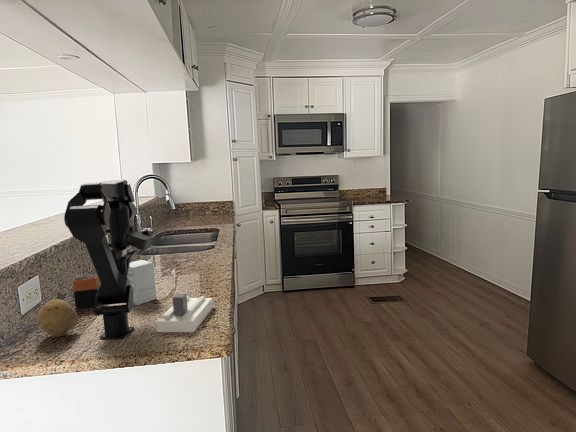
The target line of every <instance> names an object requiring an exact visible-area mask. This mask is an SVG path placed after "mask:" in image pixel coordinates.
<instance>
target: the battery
mask: <svg viewBox="0 0 576 432" xmlns="http://www.w3.org/2000/svg"><path fill="white" fill-rule="evenodd" d="M72 287H73V296H74V305H75V309H82V308H90V307H95V299H96V293H97V290H98V287H99V278H98V276H97V274H95V275H94V274H88V275H87V276H84V275H83V274H78V275H76V276H75V278H74V279H73V280H72Z"/></svg>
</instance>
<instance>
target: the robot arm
mask: <svg viewBox="0 0 576 432" xmlns="http://www.w3.org/2000/svg"><path fill="white" fill-rule="evenodd" d="M93 200H102V202H103V205H102V204H90V205H85V204H86V203H87V201H93ZM135 200H136V199H135V196H134V193H133V190H132V186H131V183H128V180H127V179H117V180H114V179H113V180H103V181H102V182H100V181H99V182H98V181H97V182H84V183H82V184H80V187H79V191H78V192H77V193H76V194H75V195H73V197H71V198H70V200H68V202H67V205H66V209H65V212H64V224H65V226H66V227H67V229H68V230H69V233H70V234H71V235H72V237H73V238H74V239H77V240H78V241H79V242H82V243H83V244H84V246H85V248H86V251H87V254H88V256H89V258H90V261H91V264H92V266H93V268H94V270H95V273H96V275H97V276H98V284H99V287H98V290H97V293H96V299H95V306H93V307H94V308H93V309H94V310H93V312H94V314H95V317H96V316H102V320H103V321H102V322H103V326H104V327H103V328H104V332H103V333H102V334H101V335H100V336H99V339H125V337H127V336H128V335H129V334H130V333H131V332H132V331H134V330H135V326H129V325H130V324H129V315H128V314H129V313H130V312H131V311H133V308H134V304H133V287H132V285H130V281H129V279H128V276H127V275H128V270H129V266H130V263H131V262H132V261H131V260H132V257H134V256H135V254H137V252H138V250H141V251H145V250H146V249H149V248H150V245H151V242H153V241H154V239H153V235H152V231H151V230H148V229H144V230H143V231H142V232H141V231H139V232H138V231H135V226H134V225H131V222H130V221H131V219H134V217H135V216H136V215H137V211H138V210H137V206H136V205H135V204H134V202H135ZM106 234H108V235H109V242H108V238H107V237H106ZM133 247H134V248H137V250H134V248H133Z"/></svg>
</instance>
